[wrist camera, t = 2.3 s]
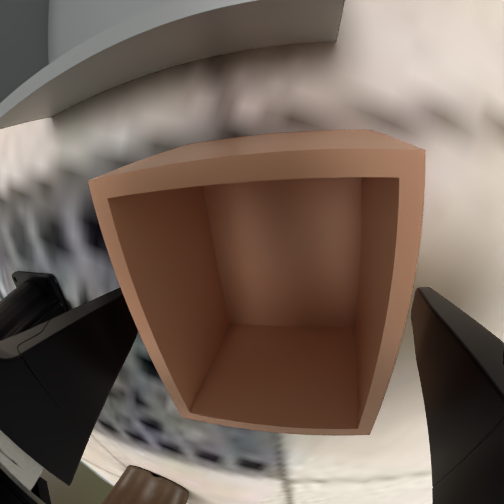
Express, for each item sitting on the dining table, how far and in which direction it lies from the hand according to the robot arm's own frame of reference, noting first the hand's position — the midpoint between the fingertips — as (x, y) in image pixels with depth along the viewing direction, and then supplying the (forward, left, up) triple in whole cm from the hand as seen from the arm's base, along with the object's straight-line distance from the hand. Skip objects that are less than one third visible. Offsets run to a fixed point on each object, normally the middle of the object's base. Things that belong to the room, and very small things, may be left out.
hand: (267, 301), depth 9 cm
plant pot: (-25, -46, -4) cm, 52 cm away
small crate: (0, 0, -4) cm, 4 cm away
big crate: (-4, +15, -4) cm, 16 cm away
